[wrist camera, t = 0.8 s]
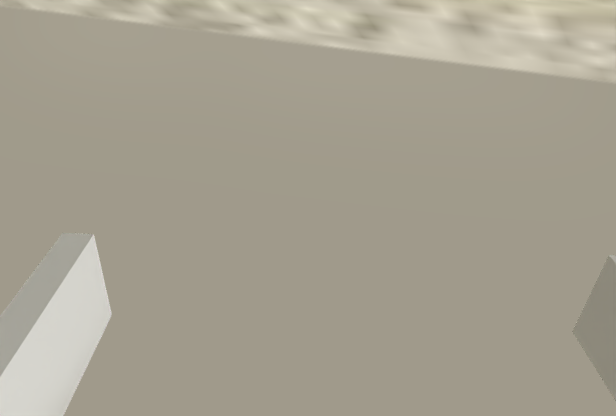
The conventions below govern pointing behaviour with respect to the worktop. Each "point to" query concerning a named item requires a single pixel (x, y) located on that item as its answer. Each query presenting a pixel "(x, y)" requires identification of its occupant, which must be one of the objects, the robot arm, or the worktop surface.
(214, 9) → the worktop surface
